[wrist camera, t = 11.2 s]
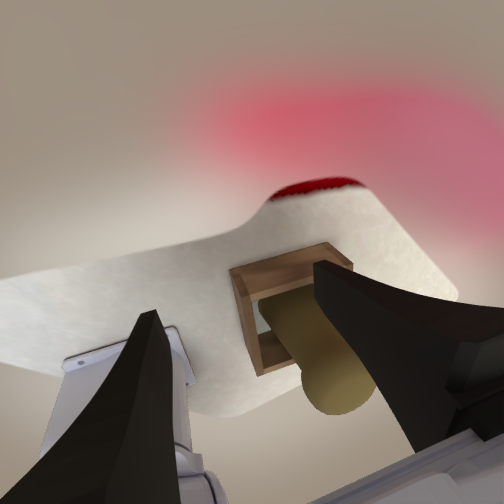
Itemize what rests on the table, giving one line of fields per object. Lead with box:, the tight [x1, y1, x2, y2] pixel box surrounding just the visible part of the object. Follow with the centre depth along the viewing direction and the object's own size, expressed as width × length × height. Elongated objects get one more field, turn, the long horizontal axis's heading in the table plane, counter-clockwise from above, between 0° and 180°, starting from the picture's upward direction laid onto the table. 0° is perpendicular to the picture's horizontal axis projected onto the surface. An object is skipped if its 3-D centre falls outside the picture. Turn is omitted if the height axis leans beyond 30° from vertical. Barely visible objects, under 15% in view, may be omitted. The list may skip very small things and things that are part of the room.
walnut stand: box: [229, 242, 353, 377], centre depth 25 cm, size 9×9×4 cm
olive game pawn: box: [258, 283, 377, 415], centre depth 23 cm, size 6×6×11 cm
